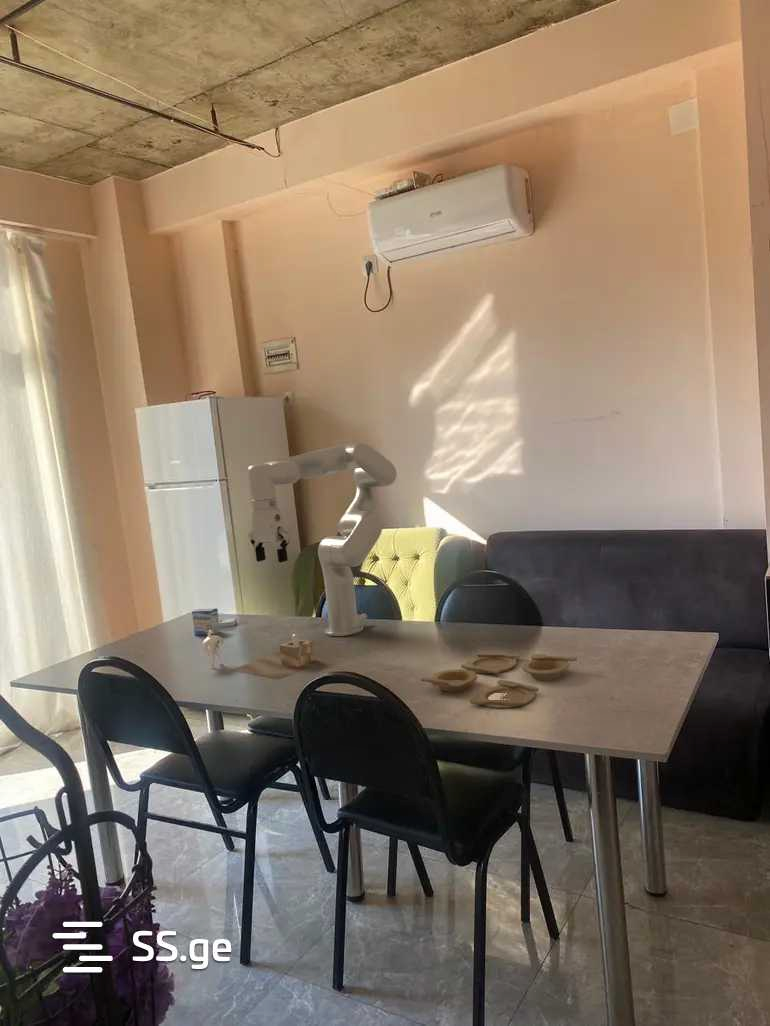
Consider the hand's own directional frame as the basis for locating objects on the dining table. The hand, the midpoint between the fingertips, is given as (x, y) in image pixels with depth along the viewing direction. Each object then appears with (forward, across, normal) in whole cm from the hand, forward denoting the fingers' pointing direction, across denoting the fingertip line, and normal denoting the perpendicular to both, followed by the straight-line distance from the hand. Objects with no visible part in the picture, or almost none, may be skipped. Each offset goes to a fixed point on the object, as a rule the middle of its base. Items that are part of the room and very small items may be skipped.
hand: (272, 561), depth 229 cm
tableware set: (+29, -76, 0) cm, 81 cm away
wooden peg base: (+28, -13, +14) cm, 34 cm away
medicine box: (+28, +44, -6) cm, 53 cm away
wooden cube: (+26, -17, +10) cm, 33 cm away
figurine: (+28, +5, +22) cm, 36 cm away
